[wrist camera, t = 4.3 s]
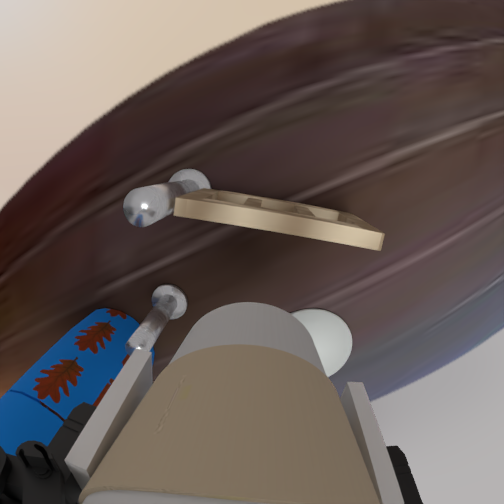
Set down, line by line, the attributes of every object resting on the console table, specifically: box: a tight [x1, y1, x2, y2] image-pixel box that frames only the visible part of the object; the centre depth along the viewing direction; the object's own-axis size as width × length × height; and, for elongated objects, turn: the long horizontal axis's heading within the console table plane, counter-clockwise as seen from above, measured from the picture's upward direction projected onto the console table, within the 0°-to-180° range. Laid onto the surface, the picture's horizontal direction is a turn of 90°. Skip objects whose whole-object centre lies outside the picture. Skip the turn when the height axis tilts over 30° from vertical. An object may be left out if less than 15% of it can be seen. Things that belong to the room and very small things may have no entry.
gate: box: [174, 188, 385, 251], centre depth 24 cm, size 14×1×9 cm, turn 81°
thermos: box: [0, 308, 155, 456], centre depth 23 cm, size 11×11×25 cm
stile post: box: [125, 284, 188, 356], centre depth 27 cm, size 4×4×10 cm
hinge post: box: [123, 169, 212, 227], centre depth 23 cm, size 4×4×12 cm
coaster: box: [290, 308, 352, 377], centre depth 33 cm, size 10×10×1 cm
